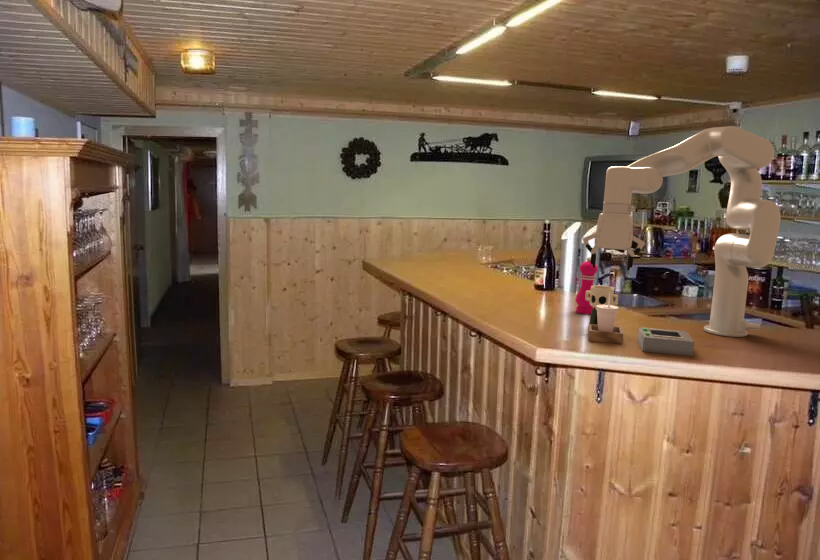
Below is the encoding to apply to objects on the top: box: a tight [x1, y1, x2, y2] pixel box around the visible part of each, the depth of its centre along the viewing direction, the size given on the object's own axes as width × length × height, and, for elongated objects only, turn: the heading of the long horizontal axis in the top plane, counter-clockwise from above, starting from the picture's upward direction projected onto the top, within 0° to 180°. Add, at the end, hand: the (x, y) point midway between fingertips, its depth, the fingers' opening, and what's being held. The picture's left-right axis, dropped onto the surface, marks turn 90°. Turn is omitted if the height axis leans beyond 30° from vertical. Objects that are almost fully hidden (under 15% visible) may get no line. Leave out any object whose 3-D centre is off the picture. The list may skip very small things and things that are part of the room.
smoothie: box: [596, 292, 619, 332], centre depth 187 cm, size 6×6×14 cm
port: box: [637, 326, 695, 357], centre depth 179 cm, size 13×13×5 cm
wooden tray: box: [587, 323, 624, 345], centre depth 187 cm, size 9×9×3 cm
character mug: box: [585, 285, 619, 325], centre depth 202 cm, size 11×7×13 cm, turn 50°
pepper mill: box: [575, 256, 598, 315], centre depth 225 cm, size 7×7×20 cm
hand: (610, 268), depth 185 cm, fingers open, 9 cm apart
